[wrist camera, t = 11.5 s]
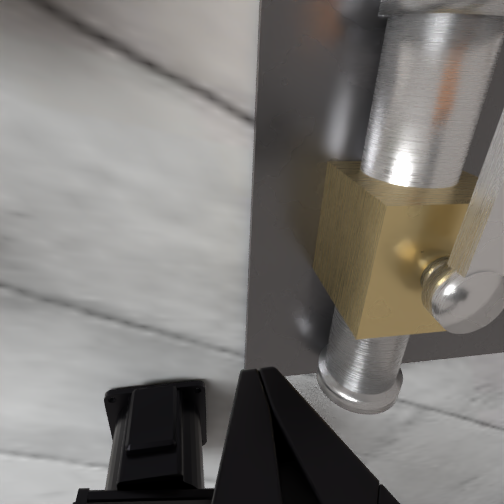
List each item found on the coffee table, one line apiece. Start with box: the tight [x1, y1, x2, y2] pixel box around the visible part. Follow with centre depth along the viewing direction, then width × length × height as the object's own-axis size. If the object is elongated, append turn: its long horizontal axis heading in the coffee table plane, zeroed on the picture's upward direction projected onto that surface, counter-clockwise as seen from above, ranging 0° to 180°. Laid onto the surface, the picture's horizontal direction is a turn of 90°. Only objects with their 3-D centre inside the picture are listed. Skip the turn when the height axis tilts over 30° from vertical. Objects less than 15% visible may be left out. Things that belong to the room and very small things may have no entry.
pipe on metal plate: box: [244, 0, 504, 414], centre depth 19 cm, size 24×22×7 cm
